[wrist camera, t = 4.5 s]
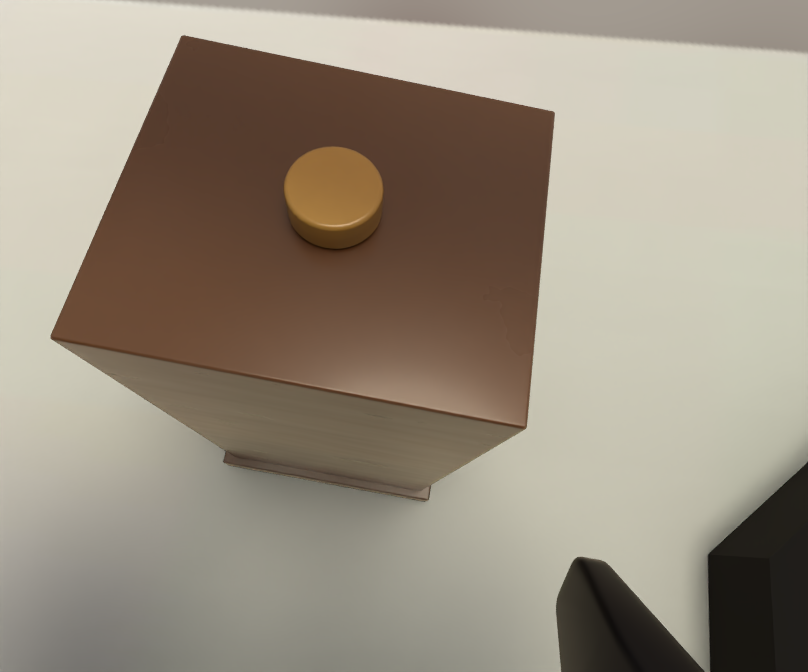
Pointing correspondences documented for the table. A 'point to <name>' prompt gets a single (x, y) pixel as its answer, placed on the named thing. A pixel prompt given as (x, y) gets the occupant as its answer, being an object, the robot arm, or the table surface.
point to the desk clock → (322, 268)
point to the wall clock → (763, 587)
